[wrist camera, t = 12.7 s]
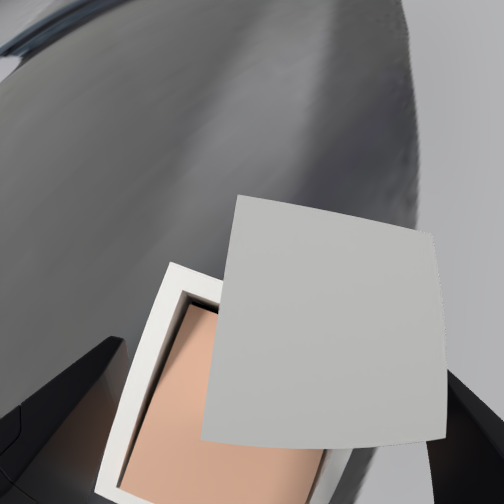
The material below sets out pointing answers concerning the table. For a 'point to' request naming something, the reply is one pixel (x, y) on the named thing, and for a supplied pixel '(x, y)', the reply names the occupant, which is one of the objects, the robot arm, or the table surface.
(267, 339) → the stone pillar
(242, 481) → the trapdoor
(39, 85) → the table surface
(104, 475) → the trapdoor frame
